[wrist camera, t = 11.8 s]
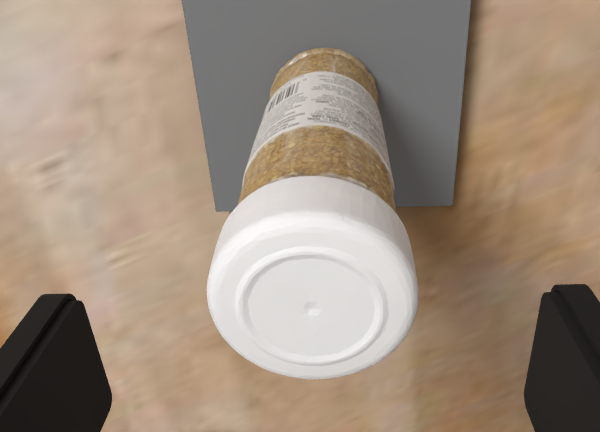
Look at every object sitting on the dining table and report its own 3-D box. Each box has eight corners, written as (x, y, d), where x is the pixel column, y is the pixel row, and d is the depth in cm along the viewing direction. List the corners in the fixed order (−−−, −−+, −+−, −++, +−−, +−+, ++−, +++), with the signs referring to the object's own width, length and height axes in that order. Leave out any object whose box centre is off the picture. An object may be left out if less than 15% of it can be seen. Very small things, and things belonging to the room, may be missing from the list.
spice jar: (312, 167, 25) (289, 414, 13) (247, 86, 23) (156, 288, 11) (400, 110, 23) (462, 335, 12) (338, 19, 21) (339, 175, 10)
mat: (448, 195, 26) (452, 205, 25) (219, 201, 27) (216, 211, 26) (470, -65, 20) (476, -63, 20) (181, -46, 21) (174, -44, 21)
